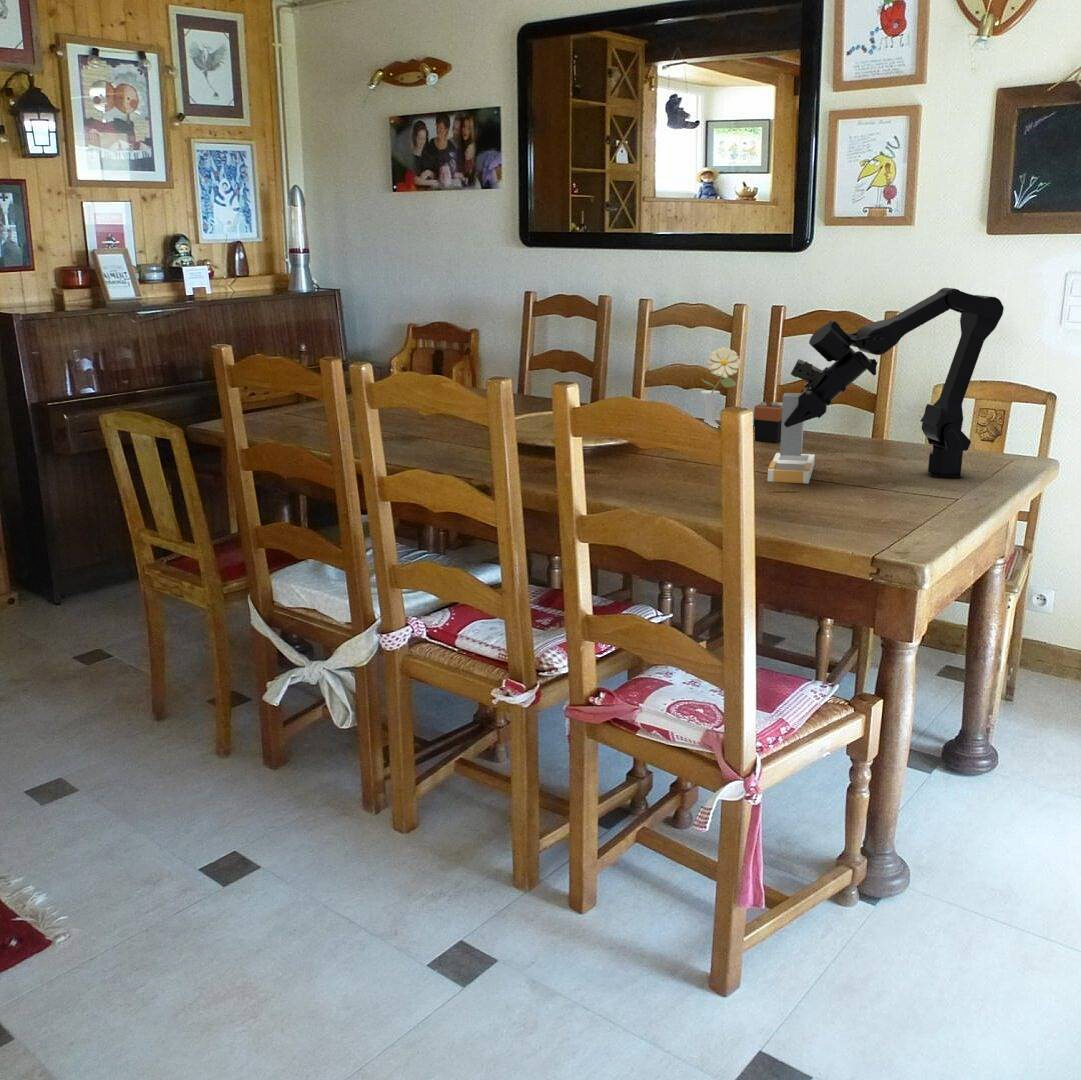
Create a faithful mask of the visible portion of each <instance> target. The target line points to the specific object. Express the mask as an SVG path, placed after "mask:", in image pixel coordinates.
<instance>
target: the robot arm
mask: <svg viewBox="0 0 1081 1080" xmlns="http://www.w3.org/2000/svg"><path fill="white" fill-rule="evenodd" d="M949 310H952V311H954V312H957V313H960V317H959V324H960V332H961V333H960V338H959V341H958V344H957V346H956V349H955V353H954V355H953V357H952V361H951V365H950V367H949V369H948V372H947V376H946V379H945V381H944V384H943V387H942V390H941V393H940V396H939V398H938V399H937V400H936V402H935V403H933V404H930V403H927V404H926V405H925V408H924V409H925V410H924V414H923V416H922V418H921V419H920V421H919V422H922V424H921V431H922V433H923V435H924V436H925V437H926V439H927V443H928V445H932V448H931V449H932V450H931V451H929V453H928V461H927V473H929V476H930V477H935V478H936V477H937V478H954V479H957V478H958V479H961V478H963V476H962V464H963V457H964V451H968V450H969V448H970V445H971V442H972V441H971V440H970V438H969V437H968V436H967V435H966V434H965V433H964V432H963V431H962V428H963V422H964V414H963V412H964V411H963V403H964V399H965V397H966V394H967V390H968V388H969V385H970V382H971V380H972V377H973V373H974V371H975V369H976V366H977V363H978V360H979V357H980V354H981V352H982V348H983V345H984V343H985V341H986V339H988V337H989V336H990V335H991V334H992V333H993V332H994V330H995V329H996V328H997V326H998V324H999V322H1000V320H1001V318H1002V317H1003V315H1004V310H1005V309H1004V305H1003V303H1002V300H1001V299H999V298H998V297H996V296H988V295H980V294H971V293H967V292H964V291H962V290H959V289H957V288H952V287H943V288H941V289H938V291H937V292H935V293H934V294H932V295H930V296H928V297H927V298H924V299H923V300H920V301H919V302H917V303H915V304H914V305H912V306H911V307H909V308H907V309H905V310H903V311H902V312H900V313H898V314H896V315H894V316H892V317H890V318H886V319H883V320H877V321H874V322H871V323H869V324H866V325H863V326H861V327H860V328H858V330H857V331H855V332H852V333H849V334H848V333H847V332H845V330H844V329H842V327H841V326H840V324H839V323H838V322H837V321H835V320H829V321H828V323H827V324H824V325H823V326H821V327H820V328H819V329H817V330H815V331H814V332H813V334H812V335H811V336H810V339H809V342H808V343H809V345H810V346H811V348H813V349H814V350H815V351H816V352H817V353H818V354H819V355H820V356H821V357H823V359H825V360H826V361H827V362H832V361H834V362H833V363H832V364H831V365H830V366H826V367H825V368H823V369H820V368H818V367H817V366H815V365H813V363H810V362H808V361H804V360H802V359H797V361H796V363H795V365H794V366H793V369H792V371H791V372H790V375H791V376H792V377H795V378H799V379H801V380H803V381H805V382H806V383H805V384H804V386H803V387H804V388H805V389H804V388H801V391H800V393H801V394H800V395H799V397H798V406H797V407H796V409H795V410H794V411H793V412H792V414H791V415H790V416H789V418H788V419H787V420H786V421H785V423H784V425H785V426H786V427H790V426H793V425H795V424H798V423H801V422H806V421H810V420H812V419H815V418H818V419H820V418H821V417H822V416H824V415H825V414H826V413H827V410H828V406H829V405H831V403H832V402H833V400H834V399H836V398H837V397H838V396H839V395H840V394H842V393H844V392H845V391H846V390H847V388H848V387H849V386H850V385H851V384H852V383H854V382H855V381H856V380H857V379H858V378H860V376H862V375H863V374H864V372H865V373H866V371H867V370H868V372H869V373H871V375H872V376H876V375H877V365H878V362H877V360H876V359H875V358H869V357H868V356H866V355H865V353H867V354H871V355H875V356H882V355H884V354H885V353H887V352H889V350H891V349H892V348H894V347H896V345H897V344H898V343H899V342H900V340H901V339H902V338H903V337H904V336H905V335H906V334H908V333H910V332H912V331H913V330H915V329H917V328H919V327H921V326H922V325H924V324H927V322H929V321H931V320H933V319H935V318H936V317H939V316H940V315H943V314H944V313H946V312H948V311H949ZM852 347H854V348H857V349H858V351H855V350H854V349H853V348H852ZM863 352H864V353H863Z"/></svg>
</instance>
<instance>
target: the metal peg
mask: <svg viewBox="0 0 1081 1080" xmlns="http://www.w3.org/2000/svg"><path fill="white" fill-rule="evenodd" d="M800 394H801V392H799V393H797V392H796V393H795V392H794V393H793V392H784V394H783V395H782V401H781V402H782V404H781V406H782V424H781V441H780V451H779V453H780V455H789V456H801V454H803V443H804V442H803V441H804V424H805V423H804V422H805V421H804V422H801V423H798V424H795V425H793V426H790V427H786V426H785V425H784V423H785V421H786V420H787V419H788V418H789V416H790V415H791V414H792V412H793V411H794V410H795V409H796V407H797V406H798V397H799V395H800Z"/></svg>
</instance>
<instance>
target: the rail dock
mask: <svg viewBox="0 0 1081 1080" xmlns="http://www.w3.org/2000/svg"><path fill="white" fill-rule="evenodd" d="M815 459H816V454H810V453H802V454H801V456H789V455H780V452H776V453H775V455H774V456H773V459H772V461H771V462H770V464H769V466H768V468H767V480H766V481H767V482H770V483H771V482H772V483H795V484H809V483H810V481H811V477H812V474H813V472H814V471H813V470H814V467H815Z"/></svg>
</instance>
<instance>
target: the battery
mask: <svg viewBox="0 0 1081 1080" xmlns="http://www.w3.org/2000/svg"><path fill="white" fill-rule="evenodd" d="M781 424H782V405H781V403H780V402H775V401H773V402H770V404H767V402H766V401H761V402H760V404H757V405H755V406H754V408H753V427H754V426H755V442H763V443H771V444H772V443H773V444H776V443H777V444H778V443H781Z"/></svg>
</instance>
